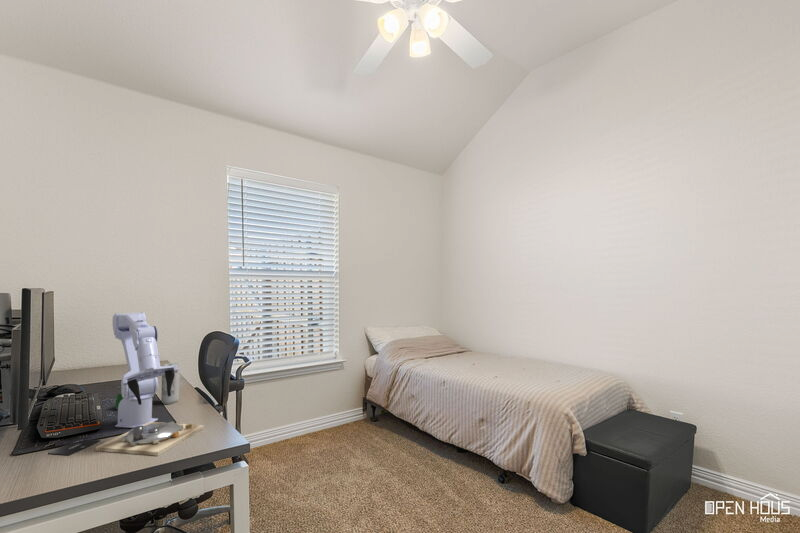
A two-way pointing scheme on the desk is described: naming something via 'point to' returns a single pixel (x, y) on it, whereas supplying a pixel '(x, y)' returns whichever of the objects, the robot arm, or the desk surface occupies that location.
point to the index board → (150, 448)
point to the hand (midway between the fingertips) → (154, 399)
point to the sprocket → (152, 433)
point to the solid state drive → (73, 447)
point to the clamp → (120, 400)
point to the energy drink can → (174, 388)
